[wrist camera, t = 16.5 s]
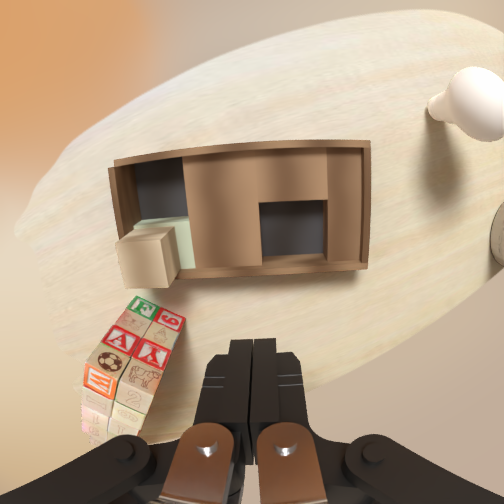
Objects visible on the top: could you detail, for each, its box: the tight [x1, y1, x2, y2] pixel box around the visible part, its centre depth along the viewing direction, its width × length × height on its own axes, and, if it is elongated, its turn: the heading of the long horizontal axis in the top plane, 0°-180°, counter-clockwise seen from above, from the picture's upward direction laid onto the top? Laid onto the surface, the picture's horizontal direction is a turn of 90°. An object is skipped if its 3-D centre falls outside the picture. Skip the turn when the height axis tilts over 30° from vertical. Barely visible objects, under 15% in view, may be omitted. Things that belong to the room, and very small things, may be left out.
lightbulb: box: [427, 67, 504, 142], centre depth 18 cm, size 6×6×11 cm
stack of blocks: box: [81, 296, 185, 447], centre depth 29 cm, size 21×6×12 cm, turn 155°
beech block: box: [115, 226, 181, 289], centre depth 25 cm, size 4×4×4 cm
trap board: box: [108, 140, 371, 279], centre depth 25 cm, size 21×11×4 cm, turn 94°
